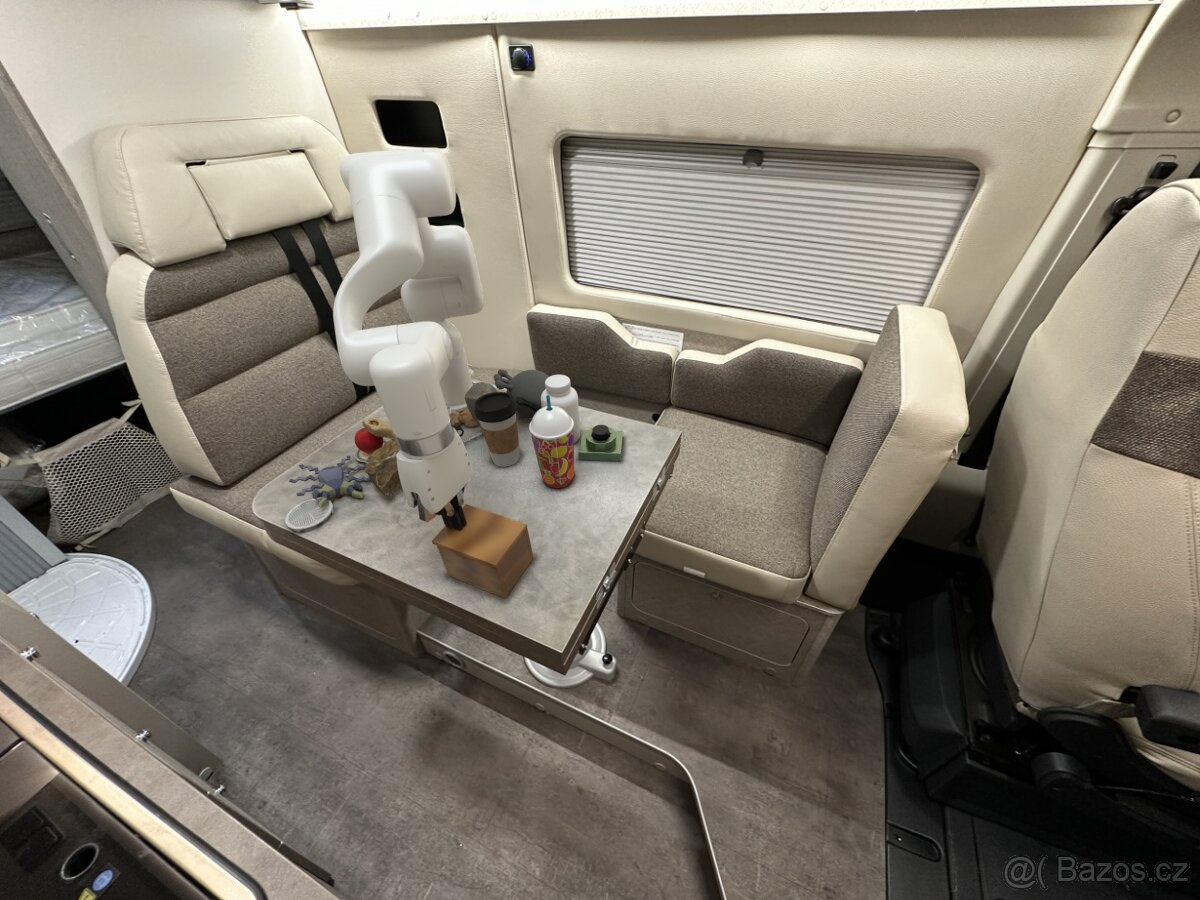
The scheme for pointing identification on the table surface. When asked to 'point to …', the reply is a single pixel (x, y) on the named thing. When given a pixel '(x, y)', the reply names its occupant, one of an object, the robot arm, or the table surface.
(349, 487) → the toy
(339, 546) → the table surface
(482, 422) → the coffee cup
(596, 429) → the button
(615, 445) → the button housing
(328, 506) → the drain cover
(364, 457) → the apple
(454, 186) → the robot arm
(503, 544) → the lid
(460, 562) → the box
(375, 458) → the rock
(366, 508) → the table surface
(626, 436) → the table surface
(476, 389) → the stone
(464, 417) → the figurine
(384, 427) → the oil lamp
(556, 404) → the pill bottle
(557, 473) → the smoothie
